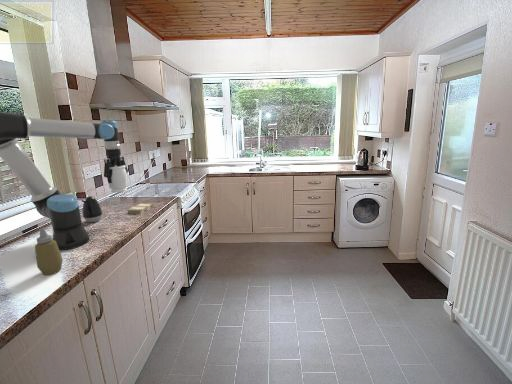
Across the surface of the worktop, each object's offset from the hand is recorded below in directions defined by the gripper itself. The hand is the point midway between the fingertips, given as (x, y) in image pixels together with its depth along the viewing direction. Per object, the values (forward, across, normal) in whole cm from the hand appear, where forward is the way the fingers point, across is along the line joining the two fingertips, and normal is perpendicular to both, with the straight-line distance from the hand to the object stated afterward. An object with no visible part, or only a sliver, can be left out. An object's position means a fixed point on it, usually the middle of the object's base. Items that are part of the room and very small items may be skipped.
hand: (118, 186), depth 161 cm
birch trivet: (+20, +17, -1) cm, 26 cm away
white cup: (+3, 0, 0) cm, 3 cm away
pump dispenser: (+20, -6, +16) cm, 26 cm away
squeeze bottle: (+21, -60, -13) cm, 65 cm away
